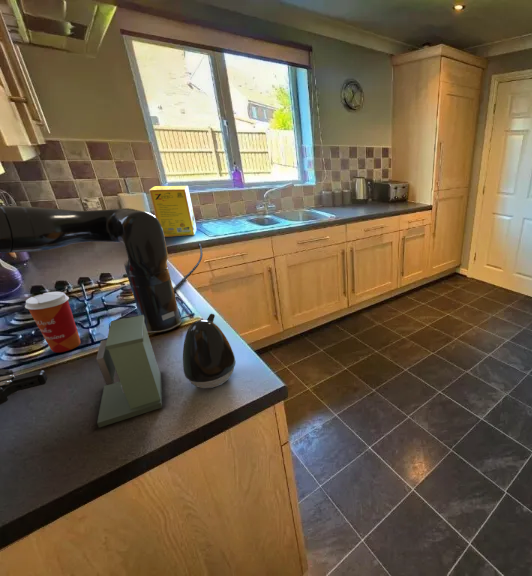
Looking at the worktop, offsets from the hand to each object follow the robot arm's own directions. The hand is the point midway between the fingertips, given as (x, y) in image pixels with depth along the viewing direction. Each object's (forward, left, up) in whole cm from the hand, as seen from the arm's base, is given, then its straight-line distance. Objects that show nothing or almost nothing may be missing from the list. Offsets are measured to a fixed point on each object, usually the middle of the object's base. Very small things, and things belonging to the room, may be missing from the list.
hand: (45, 376), depth 59 cm
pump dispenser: (+2, +26, -10) cm, 28 cm away
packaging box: (-147, +27, -10) cm, 150 cm away
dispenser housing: (0, +11, -10) cm, 15 cm away
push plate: (0, +9, -3) cm, 9 cm away
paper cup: (-31, -4, -10) cm, 33 cm away
